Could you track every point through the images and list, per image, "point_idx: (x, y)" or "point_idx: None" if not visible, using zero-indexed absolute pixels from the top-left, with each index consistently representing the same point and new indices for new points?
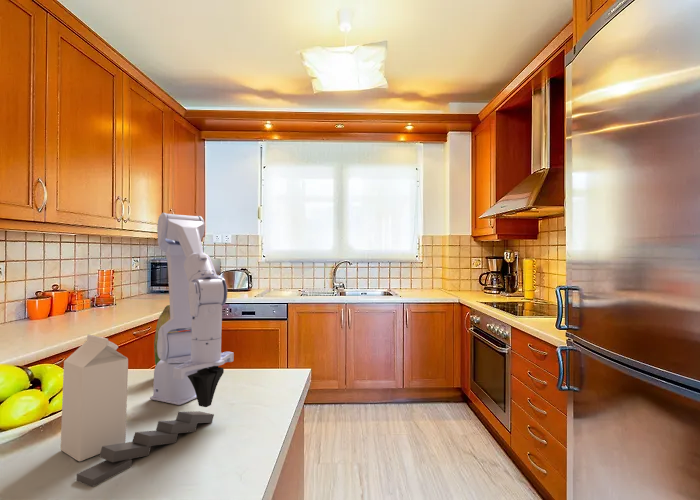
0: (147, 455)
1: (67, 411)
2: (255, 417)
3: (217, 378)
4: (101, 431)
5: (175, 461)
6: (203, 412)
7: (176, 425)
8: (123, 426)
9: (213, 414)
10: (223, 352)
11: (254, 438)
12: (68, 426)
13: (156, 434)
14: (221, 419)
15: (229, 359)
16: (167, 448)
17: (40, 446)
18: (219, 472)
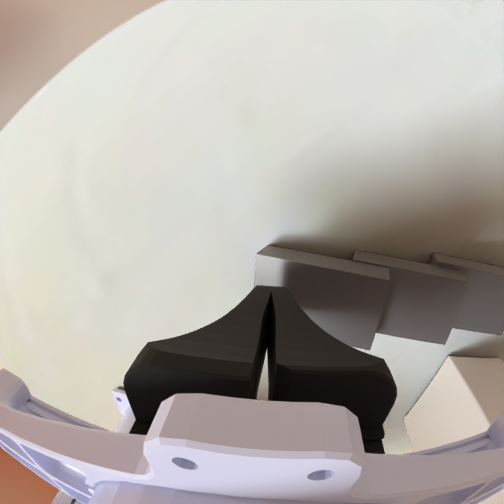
0: (492, 265)
1: None
2: (161, 116)
3: (220, 341)
4: (501, 385)
5: (499, 178)
6: None
7: (452, 276)
8: (470, 384)
9: (258, 254)
10: (22, 463)
11: (320, 19)
12: None
13: (494, 286)
14: (229, 229)
15: (16, 397)
16: (459, 249)
17: None
18: (490, 47)
